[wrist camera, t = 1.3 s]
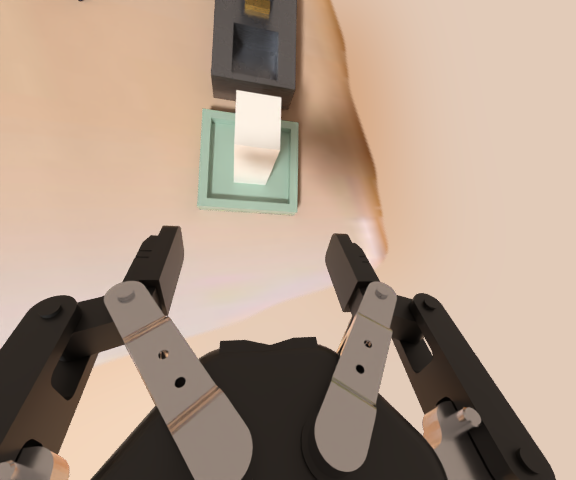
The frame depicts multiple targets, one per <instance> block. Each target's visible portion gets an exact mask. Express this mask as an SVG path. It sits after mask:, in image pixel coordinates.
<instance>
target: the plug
mask: <svg viewBox="0 0 576 480" xmlns="http://www.w3.org/2000/svg"><path fill="white" fill-rule="evenodd" d="M280 135H281V97H275V96H269V95H263V94H257V93H251V92H245V91H240V90H236V113H235V137H234V182H235V183H247V184H258V185H266V183H267V180H268V178H269V176H270V173H271V171H272V169H273V166H274V164H275V161H276V159H277V157H278V154H279V152H280Z"/></svg>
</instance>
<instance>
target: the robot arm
mask: <svg viewBox="0 0 576 480" xmlns="http://www.w3.org/2000/svg"><path fill="white" fill-rule="evenodd" d="M183 260H184V247H183V240H182V233H181V228H180V226H163V227H162V229H161V231H160V233H159V235H158V236H153V235H151V236H150V237H149V238H147V239H146V240H145V241H144V242H143V243H142V245H141V247H140V249H139V252H138V253H137V255H136V258H135V259H134V260H133V262H132V264H131V266H130V268H129V270H128V272H127V274H126V276H125V278H124V280H123V282H122V283H119V284H117V285H115V286H113V287H112V288H111V289H109V290H108V291H107V293H106V294H105V296H102V297H99V298H95V299H91V300H86V301H82V302H78V303H77V302H76V300H75V299H74V298H73V297H70V296H66V295H60V296H54V297H50V298H47V299H45V300H43V301H41V302H39V303H37V304H36V305H34V306H33V307H32V308H31V309H30V310H29V311H28V312H27V313H26V315H25V316H24V317H23V319H22V320H21V322H20V323H19V324H18V326H17V327H16V329H15V330H14V331H13V333H12V334H11V335H10V337H9V338H8V340H7V341H6V342H5V344H4V345H3V347H2V348H1V349H0V480H68V478H69V465H68V463H67V461H66V460H65V459H64V458H62V457H61V456H59V455H58V453H59V450H60V447H61V445H62V443H63V440H64V438H65V435H66V433H67V430H68V427H69V425H70V423H71V420H72V418H73V415H74V413H75V410H76V408H77V405H78V403H79V400H80V398H81V395H82V393H83V390H84V388H85V385H86V383H87V380H88V378H89V376H90V373H91V371H92V368H93V366H94V363H95V361H96V358H97V356H98V353H99V352H102V351H105V350H109V349H112V348H115V347H118V346H121V345H124V344H125V346H126V348H127V350H128V352H129V354H130V356H131V358H132V359H133V362H134V364H135V366H136V368H137V370H138V372H139V374H140V376H141V378H142V380H143V382H144V384H145V386H146V388H147V390H148V392H149V394H150V396H151V398H152V400H153V402H154V404H155V407H154V408H153V409H152V410H151V411H150V413H149V414H148V415H147V416H146V417H145V418H144V419H143V421H142V422H141V423H140V424H139V425H138V427H136V429H135V430H134V431H133V432H132V433H131V434H130V435H129V437H128V438H127V439H126V440H125V441H124V442H123V443H122V444H121V446H120V447H119V448H118V449H117V450H116V451H115V452H114V454H113V455H112V456H111V457H110V458H109V459H108V460H107V461H106V463H105V464H104V465H103V466H102V467H101V468H100V469H99V471H98V472H97V473H96V474H95V475H94V476H93V477H92V478H91V480H556V479H555V475H554V472H553V470H552V468H551V466H550V464H549V463H548V461H547V460H546V458H545V457H544V455H543V454H542V452H541V451H540V449H539V448H538V446H537V445H536V443H535V442H534V440H533V439H532V438H531V436H530V434H529V433H528V432H527V430H526V428H525V427H524V426H523V424H522V423H521V421H520V420H519V418H518V417H517V415H516V414H515V412H514V411H513V409H512V408H511V406H510V405H509V403H508V402H507V401H506V399H505V398H504V396H503V394H502V393H501V391H500V390H499V389H498V387H497V386H496V384H495V383H494V381H493V380H492V378H491V377H490V375H489V374H488V373H487V371H486V369H485V368H484V366H483V365H482V363H481V362H480V360H479V359H478V357H477V356H476V355H475V353H474V352H473V350H472V349H471V347H470V346H469V344H468V343H467V341H466V340H465V338H464V337H463V336H462V334H461V332H460V331H459V329H458V328H457V327H456V325H455V323H454V322H453V321H452V319H451V318H450V316H449V315H448V313H447V312H446V310H445V309H444V307H443V306H442V305H441V303H440V302H439V301H438V300H437V299H435V298H434V297H432V296H430V295H428V294H424V293H419V294H416V295H415V296H414V298H413V299H409V298H406V297H402V296H398V295H396V293H395V292H394V290H393V289H392V288H391V287H389V286H388V285H386V284H384V283H382V282H380V281H379V279H378V277H377V275H376V273H375V272H374V270H373V268H372V266H371V264H370V263H369V261H368V259H367V257H366V255H365V254H364V252H363V250H362V249H361V248H360V247H359V246H358V245H357V244H356V243H352V242H351V240H350V238H349V236H348V235H347V234H333V235H332V237H331V240H330V243H329V246H328V249H327V252H326V257H325V262H326V266H327V269H328V272H329V274H330V277H331V280H332V283H333V286H334V288H335V291H336V294H337V297H338V300H339V302H340V305H341V308H342V311H343V312H351V314H352V317H351V319H350V322H349V324H348V326H347V329H346V331H345V333H344V336H343V338H342V340H341V343H340V345H339V347H338V350H337V352H334V351H332V350H331V349H329V348H327V347H324V346H322V345H318V344H317V340H316V337H304V338H303V337H302V338H292V339H288V340H285V341H282V342H279V343H276V344H273V345H267V344H262V343H257V342H252V341H247V340H234V341H220V349H217V350H214V351H211V352H209V353H207V354H206V355H204V356H202V357H201V358H199V359H198V358H197V357H196V355H195V354H194V352H193V351H192V349H191V348H190V346H189V345H188V343H187V342H186V340H185V339H184V337H183V336H182V335H181V333H180V332H179V330H178V329H177V327H176V326H175V324H174V323H173V321H172V320H171V319H170V318H169V317H168V313H169V310H170V306H171V303H172V299H173V296H174V292H175V289H176V285H177V282H178V278H179V275H180V271H181V267H182V264H183ZM165 316H167V317H165ZM424 337H425V339H426V341H427V342H428V344H429V346H430V348H431V350H432V354H433V356H432V354H431V352H430V351H429V349H428V347H427V345H426V343H425V341H424V339H423V338H424ZM391 338H392V340H393V342H394V345H395V347H396V349H397V351H398V354H399V356H400V359H401V361H402V363H403V365H404V368H405V370H406V373H407V375H408V377H409V379H410V382H411V384H412V387H413V389H414V391H415V394H416V396H417V398H418V400H419V403H420V405H421V407H422V410H423V412H424V414H425V415H424V417H423V422H422V425H423V430H424V433H423V436H422V435H421V434H420V433H419V432H418V431H417V430H416V429H415V428H414V427H413V426H412V425H411V424H410V423H409V422H408V421H407V420H406V419H405V418H404V417H403V416H402V415H401V414H400V413H399V412H398V411H397V410H395V409H394V408H393V407H392V406H391V405H390V404H389V403H388V402H387V401H386V400H385V399H384V398H383V397H382V396H381V395H380V394H379V393H378V392H379V388H380V384H381V379H382V375H383V371H384V367H385V362H386V358H387V354H388V350H389V345H390V341H391Z"/></svg>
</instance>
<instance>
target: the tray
mask: <svg viewBox="0 0 576 480" xmlns="http://www.w3.org/2000/svg"><path fill="white" fill-rule="evenodd" d="M298 124H299V123H298V122H291V121H284V120H281V135H280V152H279V154H278V157H277V159H276V161H275V164H274V166H273V169H272V171H271V173H270V176H269V178H268V180H267V183H266V185H258V184H247V183H235V182H234V137H235V113H230V112H223V111H216V110H209V109H203V112H202V130H201V148H200V166H199V184H198V202H197V206H198V208H199V209H200V210H216V211H232V212H248V213H264V214H280V215H295V214H296V213H297V197H298Z"/></svg>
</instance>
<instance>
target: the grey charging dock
mask: <svg viewBox="0 0 576 480" xmlns="http://www.w3.org/2000/svg"><path fill="white" fill-rule="evenodd" d="M296 9H297V0H215V11H214V30H213V49H212V68H211V78H212V87H213V96H214V98H220V99H226V100H233V101H236V90H240V91H245V92H251V93H257V94H263V95H269V96H275V97H281V108H283V109H288V108H289V106H290V103H291V100H292V97H293V94H294V92H295V74H296Z"/></svg>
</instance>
